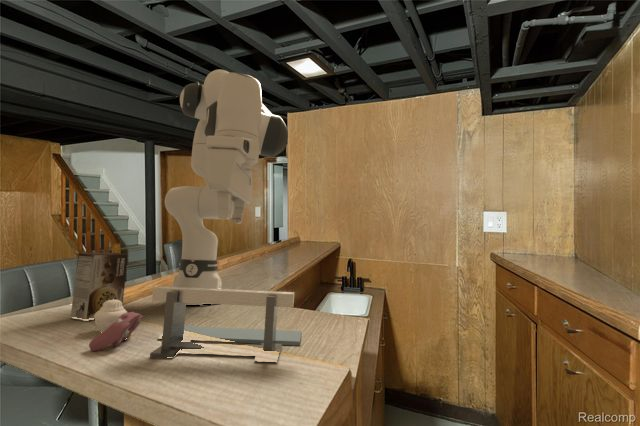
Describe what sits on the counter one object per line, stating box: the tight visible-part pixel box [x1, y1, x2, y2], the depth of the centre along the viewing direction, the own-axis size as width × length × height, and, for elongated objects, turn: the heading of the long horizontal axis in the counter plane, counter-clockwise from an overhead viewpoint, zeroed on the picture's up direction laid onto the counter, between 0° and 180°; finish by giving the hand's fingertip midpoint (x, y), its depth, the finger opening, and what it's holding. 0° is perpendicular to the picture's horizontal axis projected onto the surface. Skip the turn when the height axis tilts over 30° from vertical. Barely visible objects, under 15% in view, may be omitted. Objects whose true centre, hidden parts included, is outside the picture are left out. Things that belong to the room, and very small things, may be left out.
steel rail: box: [151, 285, 295, 308], centre depth 59 cm, size 2×26×2 cm, turn 91°
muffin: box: [94, 299, 128, 333], centre depth 67 cm, size 6×6×7 cm
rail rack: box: [149, 291, 283, 359], centre depth 58 cm, size 8×22×11 cm, turn 91°
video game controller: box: [88, 311, 144, 352], centre depth 60 cm, size 10×5×7 cm
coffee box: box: [70, 252, 129, 319], centre depth 79 cm, size 9×6×16 cm
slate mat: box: [184, 325, 302, 347], centre depth 67 cm, size 8×29×1 cm, turn 91°
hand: (230, 221), depth 60 cm, fingers open, 8 cm apart
